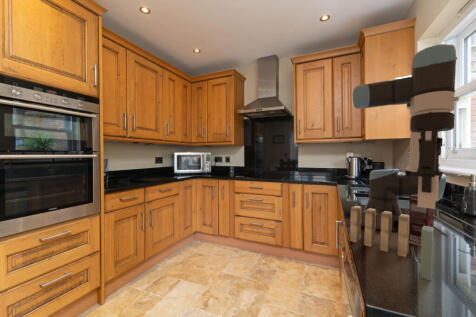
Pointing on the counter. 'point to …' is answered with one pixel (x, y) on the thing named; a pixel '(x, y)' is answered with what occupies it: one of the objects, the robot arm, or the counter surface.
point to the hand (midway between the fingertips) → (428, 203)
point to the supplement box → (418, 220)
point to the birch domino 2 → (370, 227)
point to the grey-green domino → (426, 252)
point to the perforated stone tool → (378, 219)
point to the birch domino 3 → (386, 231)
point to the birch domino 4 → (403, 235)
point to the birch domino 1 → (355, 224)
